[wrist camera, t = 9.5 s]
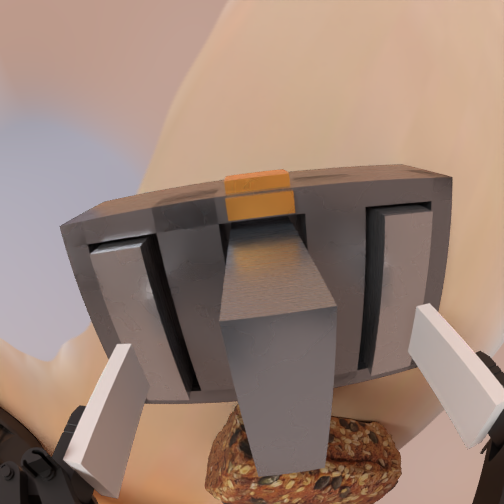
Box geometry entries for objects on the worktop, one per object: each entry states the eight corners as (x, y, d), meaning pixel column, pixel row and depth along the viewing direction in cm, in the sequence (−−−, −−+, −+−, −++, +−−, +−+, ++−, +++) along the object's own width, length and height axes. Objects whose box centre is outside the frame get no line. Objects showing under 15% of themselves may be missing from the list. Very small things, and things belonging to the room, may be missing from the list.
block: (231, 218, 17) (218, 321, 7) (285, 212, 17) (336, 305, 7) (252, 347, 20) (258, 476, 11) (295, 341, 20) (324, 467, 11)
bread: (386, 416, 29) (414, 482, 20) (338, 462, 32) (352, 521, 23) (237, 391, 26) (236, 484, 17) (204, 444, 29) (198, 517, 20)
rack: (150, 352, 24) (128, 413, 17) (102, 193, 19) (46, 220, 12) (393, 320, 23) (430, 373, 17) (401, 156, 18) (463, 168, 12)
